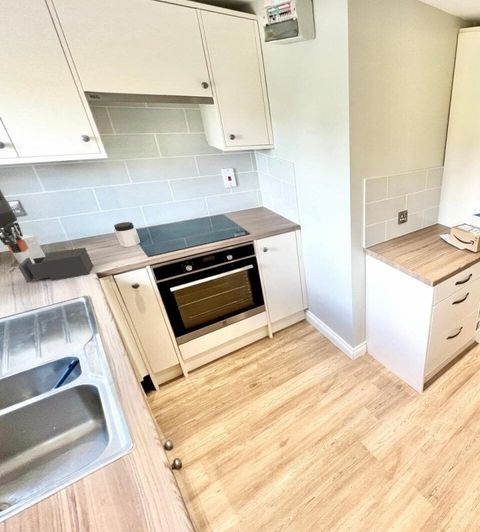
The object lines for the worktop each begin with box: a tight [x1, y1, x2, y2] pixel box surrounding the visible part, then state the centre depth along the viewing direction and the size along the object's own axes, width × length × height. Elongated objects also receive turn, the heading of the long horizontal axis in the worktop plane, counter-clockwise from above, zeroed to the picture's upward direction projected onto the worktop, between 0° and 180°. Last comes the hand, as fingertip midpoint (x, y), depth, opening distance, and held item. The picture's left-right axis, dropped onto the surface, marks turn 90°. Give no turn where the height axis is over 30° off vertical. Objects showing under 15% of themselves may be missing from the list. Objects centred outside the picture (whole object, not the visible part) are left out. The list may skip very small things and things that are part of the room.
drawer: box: [5, 257, 51, 284], centre depth 145 cm, size 17×10×8 cm, turn 122°
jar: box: [113, 221, 141, 248], centre depth 180 cm, size 9×8×12 cm
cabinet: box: [42, 247, 94, 282], centre depth 150 cm, size 13×11×10 cm
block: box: [6, 240, 28, 254], centre depth 133 cm, size 4×4×4 cm
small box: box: [9, 233, 47, 265], centre depth 158 cm, size 8×6×13 cm
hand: (19, 250), depth 134 cm, fingers closed on block, 4 cm apart
